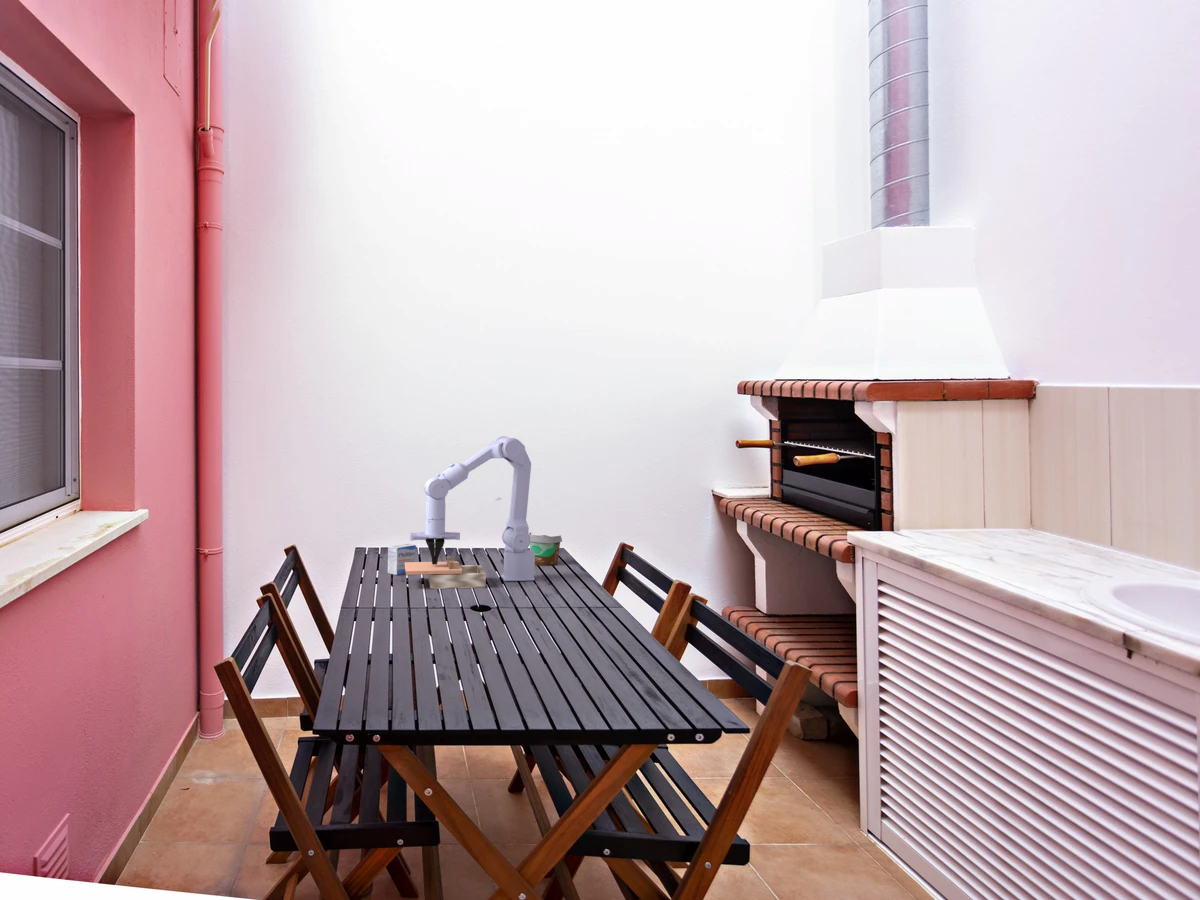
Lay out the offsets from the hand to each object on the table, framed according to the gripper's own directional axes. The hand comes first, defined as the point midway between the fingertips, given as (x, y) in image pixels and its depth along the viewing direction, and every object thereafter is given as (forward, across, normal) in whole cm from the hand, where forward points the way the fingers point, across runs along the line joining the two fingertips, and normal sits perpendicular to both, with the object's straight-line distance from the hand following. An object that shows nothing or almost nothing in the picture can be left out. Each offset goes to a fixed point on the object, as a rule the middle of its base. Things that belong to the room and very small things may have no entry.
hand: (434, 563), depth 262 cm
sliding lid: (+2, 0, 0) cm, 2 cm away
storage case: (+6, -6, 0) cm, 9 cm away
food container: (+6, -37, -26) cm, 45 cm away
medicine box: (+6, +9, -16) cm, 20 cm away
